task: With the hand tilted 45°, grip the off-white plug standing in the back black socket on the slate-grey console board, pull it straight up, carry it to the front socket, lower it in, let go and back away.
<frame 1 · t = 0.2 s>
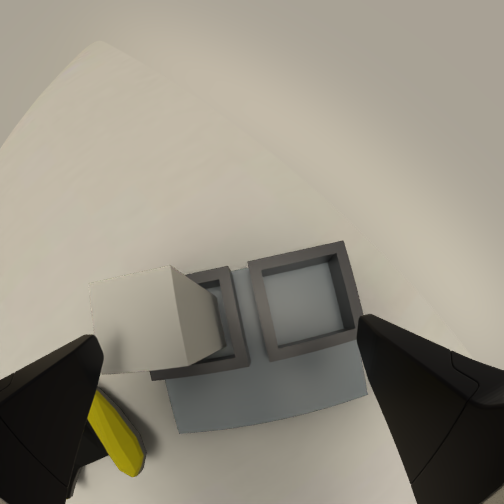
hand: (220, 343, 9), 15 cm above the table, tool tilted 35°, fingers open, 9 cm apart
plug: (197, 325, 22), point 1 cm above the table, touching console board
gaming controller: (89, 434, 21), on the table
console board: (250, 316, 23), on the table
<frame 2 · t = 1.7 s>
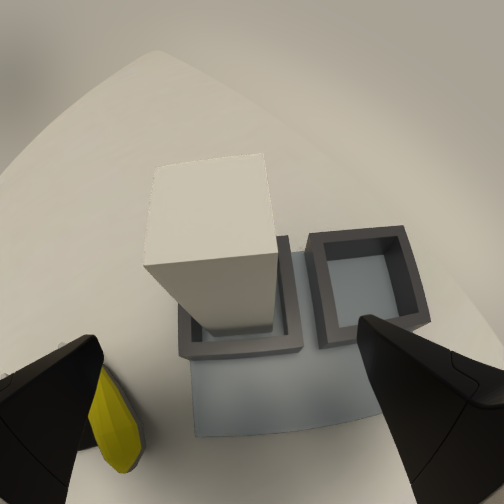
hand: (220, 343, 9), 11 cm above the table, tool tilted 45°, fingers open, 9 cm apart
plug: (240, 306, 20), point 1 cm above the table, touching console board
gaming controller: (75, 421, 17), on the table
console board: (300, 304, 21), on the table
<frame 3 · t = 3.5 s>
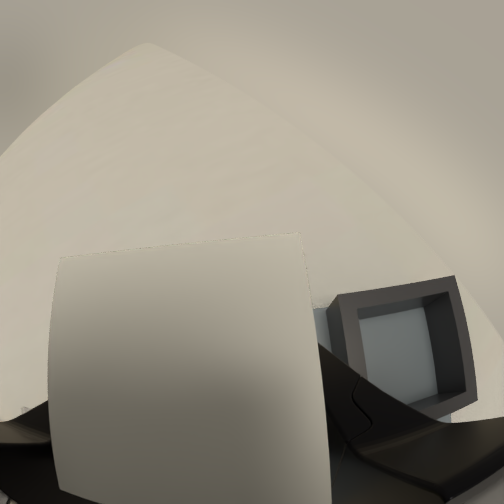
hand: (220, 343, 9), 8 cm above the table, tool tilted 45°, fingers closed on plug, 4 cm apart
plug: (241, 384, 14), point 1 cm above the table, touching console board, gripper
console board: (318, 376, 15), on the table
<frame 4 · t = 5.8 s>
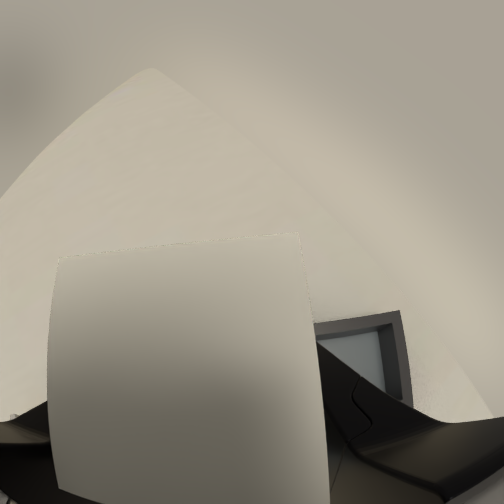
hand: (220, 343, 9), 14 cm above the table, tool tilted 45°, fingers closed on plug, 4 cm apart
plug: (241, 384, 14), point 7 cm above the table, touching gripper
console board: (292, 380, 20), on the table
when the fingers open (9 cm above the table, at t = 7.9 s): plug drops 1 cm, resting on console board.
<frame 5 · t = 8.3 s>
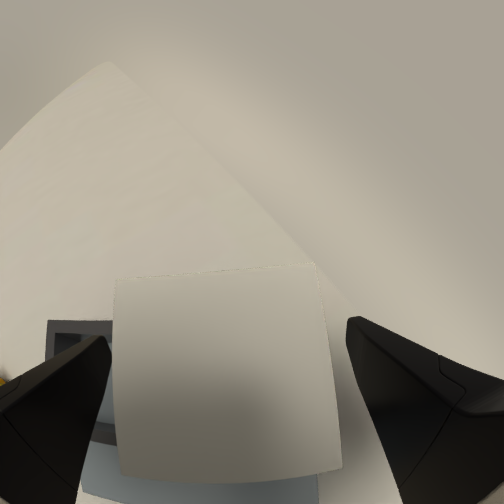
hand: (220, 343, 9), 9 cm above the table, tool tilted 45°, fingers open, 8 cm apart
plug: (245, 383, 15), point 1 cm above the table, touching console board
console board: (178, 387, 16), on the table
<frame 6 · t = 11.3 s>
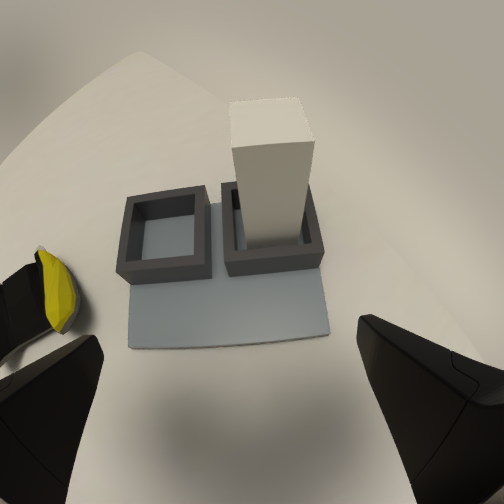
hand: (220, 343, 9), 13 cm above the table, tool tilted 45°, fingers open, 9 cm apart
plug: (269, 232, 24), point 1 cm above the table, touching console board
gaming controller: (41, 317, 23), on the table
console board: (221, 244, 25), on the table
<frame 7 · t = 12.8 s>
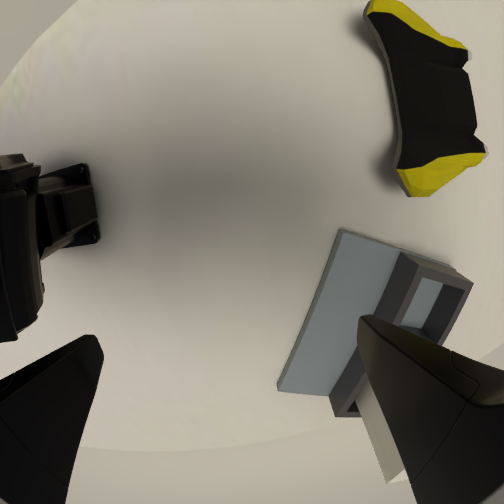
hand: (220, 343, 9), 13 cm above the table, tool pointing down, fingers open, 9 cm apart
plug: (374, 373, 25), point 1 cm above the table, touching console board
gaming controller: (411, 99, 18), on the table
console board: (389, 332, 24), on the table
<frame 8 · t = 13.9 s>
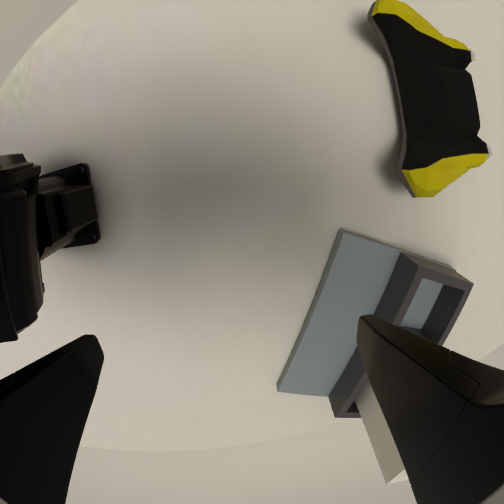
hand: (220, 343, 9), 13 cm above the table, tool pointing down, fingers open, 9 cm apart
plug: (374, 373, 25), point 1 cm above the table, touching console board
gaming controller: (415, 100, 18), on the table
console board: (389, 333, 24), on the table
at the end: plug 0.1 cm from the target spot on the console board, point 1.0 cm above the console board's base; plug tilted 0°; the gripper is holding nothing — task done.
